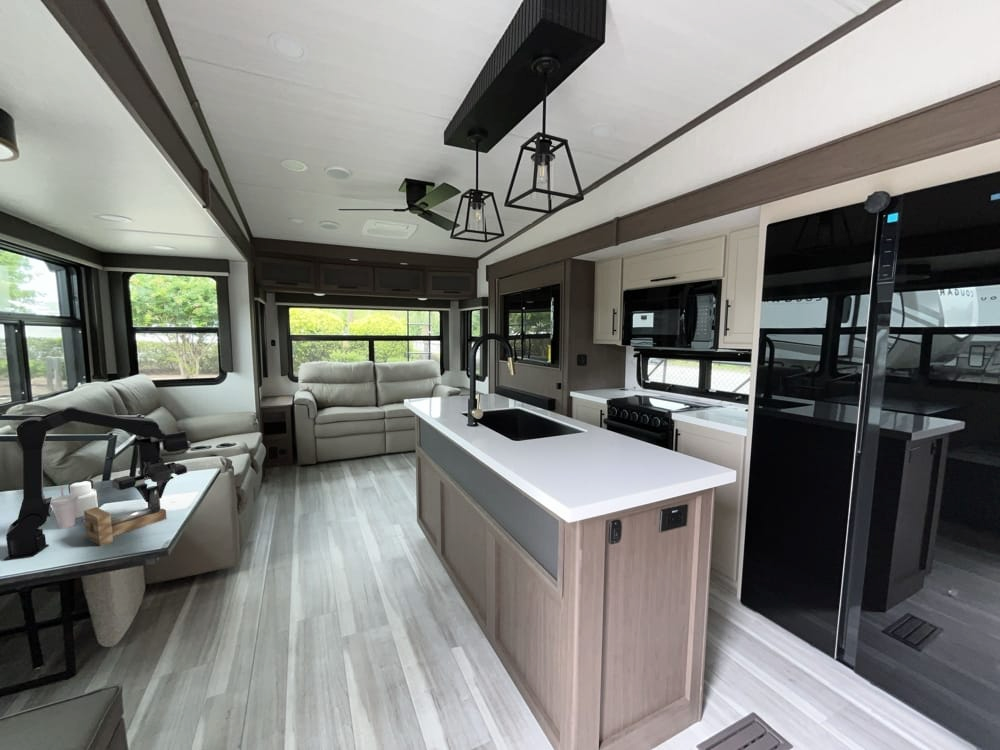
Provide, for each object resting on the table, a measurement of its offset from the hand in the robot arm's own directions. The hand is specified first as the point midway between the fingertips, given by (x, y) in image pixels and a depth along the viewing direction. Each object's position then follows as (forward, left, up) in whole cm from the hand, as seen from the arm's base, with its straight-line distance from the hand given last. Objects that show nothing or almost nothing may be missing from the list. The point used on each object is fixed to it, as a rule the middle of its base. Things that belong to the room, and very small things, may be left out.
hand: (153, 500), depth 137 cm
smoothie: (-26, +4, -8) cm, 28 cm away
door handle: (-3, -4, -4) cm, 6 cm away
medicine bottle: (-27, +14, -8) cm, 32 cm away
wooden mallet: (-4, -5, -8) cm, 10 cm away
